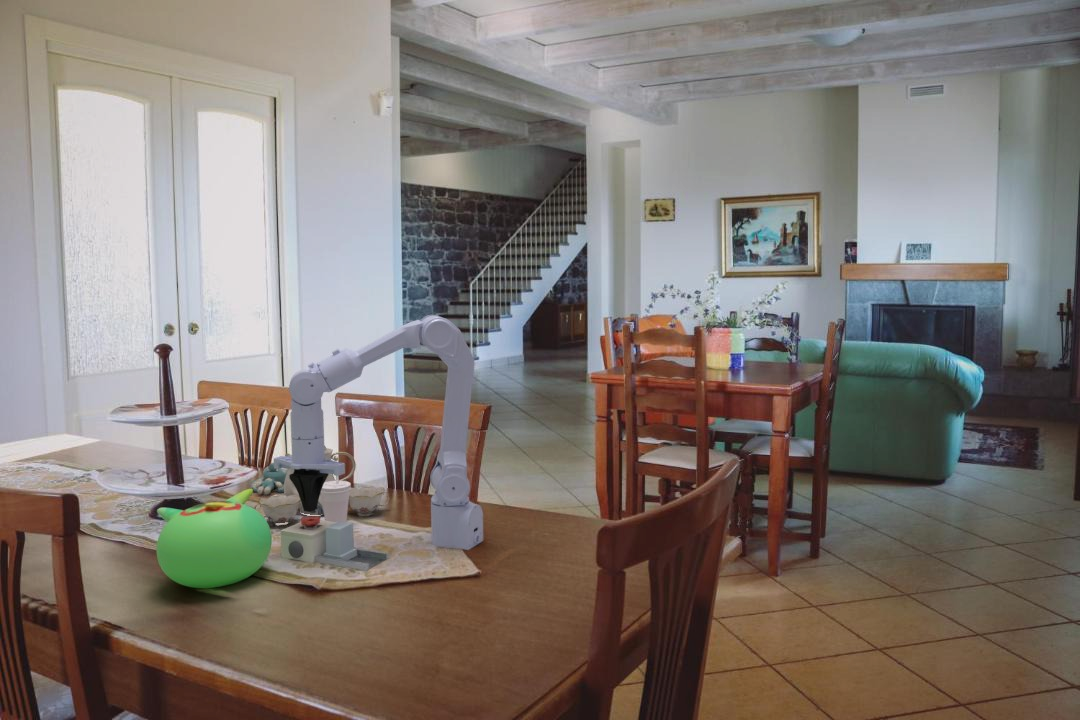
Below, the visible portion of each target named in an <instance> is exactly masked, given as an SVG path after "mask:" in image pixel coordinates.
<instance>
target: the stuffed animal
mask: <svg viewBox="0 0 1080 720" xmlns="http://www.w3.org/2000/svg"><path fill="white" fill-rule="evenodd" d="M262 471H263V472H262V476H261V477H259V478H256V479H255V480H253V481H251V482H250V487H251V489H253V492H256V493H258V494H259V495H261V494H263V493H264V494H266V495H269V494H271V492H272V490H273V489H276V492H277V493H284V482H285V478H286V474H287V471H288V469H285V468H280V469H275V468H274V462H271V463H270V464H269V465H268V466H267V467H265V468H264V469H263V470H262Z"/></svg>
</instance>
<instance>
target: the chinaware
mask: <svg viewBox="0 0 1080 720" xmlns="http://www.w3.org/2000/svg"><path fill="white" fill-rule="evenodd" d="M324 449H325V459H329V460H333V461H336V462H338V461H339V457H338V456H337V455H341V456H342V455H343V456H344V455H345V456H347V457H349V459H350V460H351V462H352V469H351V471H350V473H349V474H348V475H346V476H345V477H343V478H341V479H340V478H339V481H347V480H348V479H350V478H351V477H352V476H353V475H354V473H355V471H356V468H357V467H356V465H357V464H356V460H355V458H354V457H353V456H352V455H351V454H350V453H348V452H345V451H336V452H334V453H333V451H334V450H333V449H331V448H327V447H326V445H325V444H324ZM284 456H286V457H292V453H291V454H290V453H285V454H284ZM293 472H294V470H293V469H288V471H287V474H286V478H285V482H284V492H283V493H284V494H274V495H270V497H268V498H260V499H259V500H258V502H259V503H257V504H256V505H255V506H254V508H253V509H255V510H256V508H257V506H259V507H260V508H262V511H263V513H264V515H265V516H263V517H264V518H265V519H266V518H267V519H266V521H267V523H270V522H273V523H274V524H275V523H285V522H289V521H291V520H292V519H294V517H295V516H296V514H297V513H298V511H299V513H300V512H301V513H304V514H310V515H321V514H324V511H323V505H322V499H321V493H320V496H319V500H318V505H317V509H316V510H314V511H311V512H307V511H304V509H303V506H302V502H301V499H300V496H299V494H298V492H297V489H296V488H295V486H294V484H293V483H292V481H291V480H290V478H289V475H290V474H293ZM329 481H336V477H335V475H334V474H329V475H328V477H327V478H326V480H325V482H329ZM347 482H349V481H347ZM385 494H386V495H387V501H386V502H385V503H384V504H381V501H382V498H383V496H384V495H385ZM389 502H390V495H389V493H388V492H386V491H385V487H377V488H376V487H375V486H373V485H364V486H361V487H358V488H355V487H351V489H350V490H349V501H348V505H349V506H350V507H351V508H352V510H354V511H355V512H356V515H358V516H359V517H369V516H371V515H374V513H372V512H374V511H376V512H377V511H379V508H378V507H385V506H387V505H388V504H389Z"/></svg>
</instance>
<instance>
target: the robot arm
mask: <svg viewBox="0 0 1080 720" xmlns="http://www.w3.org/2000/svg"><path fill="white" fill-rule="evenodd" d="M422 345H423V346H424V347H426V348H427V349H428V350H430V351H431V352H433V353H435V354H436V355H437V356H438V358H439V359H441V361H442V362H443V363H444V364H445V365H446V366H447V373H446V383H445V384H446V385H445V392H444V393H445V394H444V403H443V413H442V416H443V417H442V424H441V425H442V426H441V435H440V446H439V449H438V453H437V456H436V461H435V465H434V466H433V468H432V470H431V472H430V475H429V476H430V477H429V479H430V480H429V481H430V484H431V486H432V488H433V489H434V490H435V491H434V493H433V495H432V496H431V498H430V517H431V518H430V520H431V523H430V526H431V530H430V531H431V535H430V536H431V545H433V546H435V547H439V548H446V549H447V548H448V549H451V548H452V549H457V550H467V551H470V550H471V549H473V548H474V547H476V546H477V545H479V544H480V543H482V542H483V541H484V511H483V509H482V506H481V505H480V504H477V503H474V502H472V501H471V500H470V496H469V494H470V492H471V483H470V481H469V479H468V475H467V471H468V461H467V456H466V454H467V453H466V452H467V441H468V430H469V422H470V421H469V420H470V410H471V400H472V392H473V391H472V390H473V380H474V371H475V370H474V369H475V358H474V356H473V354H472V351H471V350H470V348H469V346H468V343H467V342H466V340H465V339H464V336H463V333H462V331H461V330H460V328H458V327H457V325H455V324H454V323H453V322H452V321H450V320H449V319H447V318H444V317H442V316H440V315H438V314H428V315H425V316H423V318H421V319H420V320H419V319H416V320H413V321H410V322H408V323H405V324H404V325H401V326H399V327H397V328H395V329H393V330H391V331H390V332H388V333H386V334H385V335H383V336H381V337H379V338H377V339H376V340H374V341H372V342H370V343H368V344H367V345H365V346H363V347H361V348H359V349H357V350H352V349H348V348H344V349H342V350H340V349H339V348H336V349H334V350H332V352H331V353H332V355H330V356H328V357H326V358H324V359H322V360H321V361H318V362H317V363H314V362H310V363H308V364H307V367H308V368H309V369H301V370H298V371H297V372H295V373H294V374H293V375H292V377H291V378H290V381H289V385H288V390H289V391H288V392H289V395H290V397H291V401H290V409H291V411H290V414H289V416H290V438H291V439H290V440H291V441H290V442H291V455H292V457H286V456H285V455H279V456H277V457H274V458H273V463H274V468H275V469H280V468H285V469H293V470H294V472H293V474H290V475H289V478H290V480H291V481H292V483H293V484H294V486H295V488H296V489H297V492H298V494H299V496H300V499H301V502H302V506H303V509H304V511H307V512H311V511H314V510H316V509H317V505H318V500H319V496H320V493H321V489H322V487H323V484H324V482H325V480H326V478H327V477H328V475H329V474H333V476H334V477H336V476H342V475H344V474H346V464H345V463H344V462H339V461H335V460H333V459H331V460H329V459H325V449H324V445H325V426H324V425H325V424H324V423H325V422H324V410H323V409H322V397H323V395H324V393H331V392H333V391H335V390H337V389H339V388H341V387H343V386H345V385H347V384H349V383H350V382H352V381H354V380H357V379H358V378H360V377H361V375H362V373H363V370H364V367H366V366H368V365H370V364H372V363H375V362H376V361H378V360H381V359H383V358H385V357H386V356H389V355H391V354H394V353H395V352H397V351H399V350H400V351H401V350H402V349H418V350H419V349H420V350H421V349H422V348H421V347H422Z"/></svg>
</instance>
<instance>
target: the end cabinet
mask: <svg viewBox="0 0 1080 720" xmlns="http://www.w3.org/2000/svg"><path fill="white" fill-rule="evenodd" d="M335 523H337V522H330V521H325V520H321V519H320V523H319V524H317V528H316V529H314V530H307V529H305V527H304V525H302V524H301V521H300V522H297V523H296V524H293V525H290V526H289V527H286V528H284V529H281V530H280V551H281V552H280V553H281V554H280V555H281V559H288V560H295V561H300V562H306V563H310V564H314V563H316V562H315V558H314V557H315V556H317V555H319V556H323V554H324V553H326V527H328V526H330V525H332V524H335Z"/></svg>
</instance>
